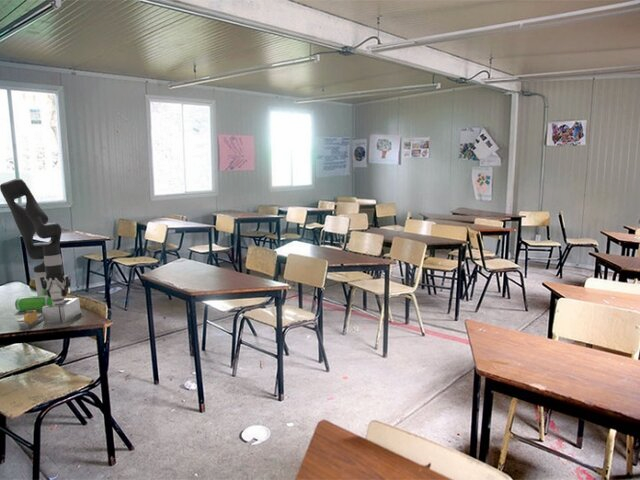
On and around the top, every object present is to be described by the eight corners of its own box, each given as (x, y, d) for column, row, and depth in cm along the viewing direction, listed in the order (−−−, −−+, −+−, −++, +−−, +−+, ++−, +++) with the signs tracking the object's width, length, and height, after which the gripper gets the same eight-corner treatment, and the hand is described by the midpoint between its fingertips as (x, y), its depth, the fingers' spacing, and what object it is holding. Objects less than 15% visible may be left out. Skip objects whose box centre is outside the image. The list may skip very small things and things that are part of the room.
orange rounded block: (33, 321, 233) (31, 308, 231) (39, 321, 233) (37, 307, 231) (23, 327, 225) (21, 313, 224) (29, 327, 225) (27, 313, 224)
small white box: (46, 314, 245) (44, 299, 244) (80, 312, 245) (78, 297, 244) (20, 329, 223) (17, 313, 221) (57, 328, 223) (55, 311, 222)
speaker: (56, 306, 258) (54, 293, 257) (50, 311, 251) (48, 297, 250) (22, 308, 257) (20, 295, 255) (15, 313, 250) (13, 299, 248)
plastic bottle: (50, 318, 238) (45, 279, 234) (65, 315, 242) (60, 276, 239) (55, 321, 233) (50, 281, 230) (70, 317, 238) (65, 278, 235)
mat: (28, 315, 244) (28, 314, 244) (43, 314, 245) (43, 313, 244) (17, 321, 235) (16, 320, 235) (32, 321, 235) (32, 319, 235)
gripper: (34, 266, 229) (38, 299, 232) (64, 264, 230) (68, 298, 232) (42, 262, 237) (47, 295, 240) (71, 261, 237) (76, 293, 240)
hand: (57, 296), depth 236 cm, fingers closed on plastic bottle, 6 cm apart
